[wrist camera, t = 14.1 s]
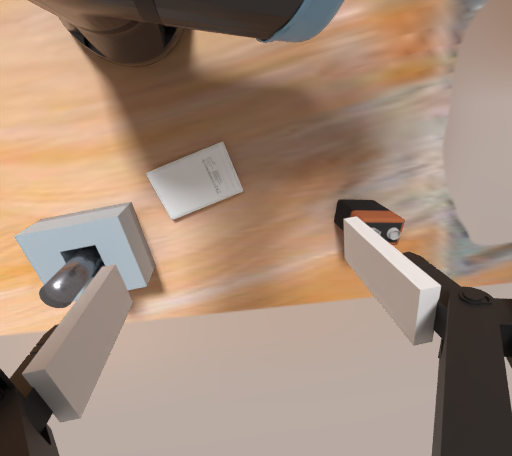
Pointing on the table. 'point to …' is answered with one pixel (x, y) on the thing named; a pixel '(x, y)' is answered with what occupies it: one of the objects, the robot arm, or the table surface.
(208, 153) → the external hard drive
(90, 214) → the socket block
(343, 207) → the battery
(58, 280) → the pin
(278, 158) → the table surface
